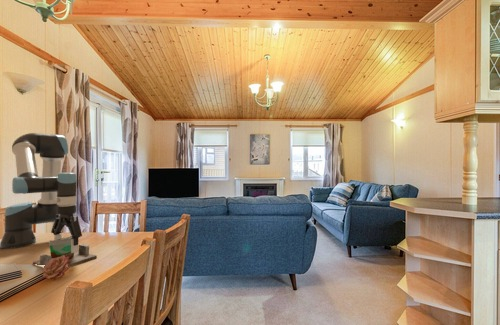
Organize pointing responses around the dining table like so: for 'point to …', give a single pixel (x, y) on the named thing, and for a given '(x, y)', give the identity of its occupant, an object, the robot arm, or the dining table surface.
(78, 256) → the base
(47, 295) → the dining table surface
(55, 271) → the flower
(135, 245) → the dining table surface
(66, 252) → the food container
